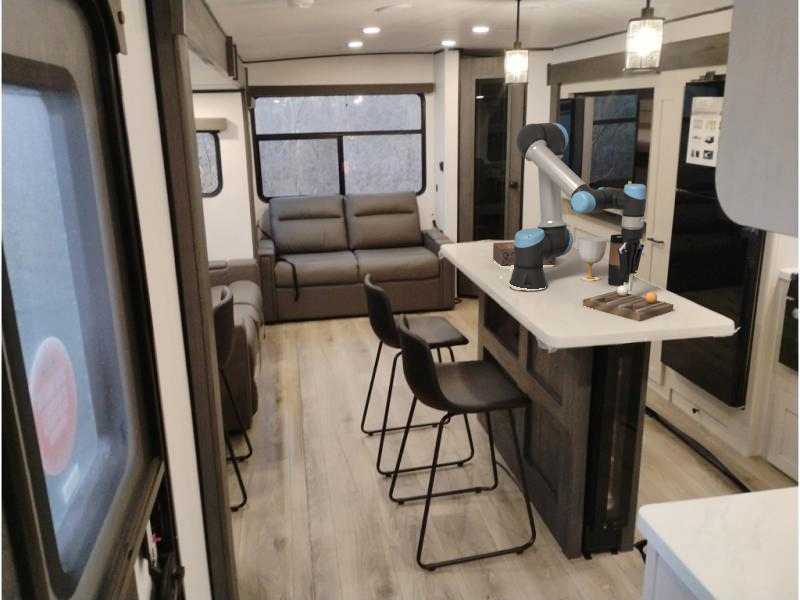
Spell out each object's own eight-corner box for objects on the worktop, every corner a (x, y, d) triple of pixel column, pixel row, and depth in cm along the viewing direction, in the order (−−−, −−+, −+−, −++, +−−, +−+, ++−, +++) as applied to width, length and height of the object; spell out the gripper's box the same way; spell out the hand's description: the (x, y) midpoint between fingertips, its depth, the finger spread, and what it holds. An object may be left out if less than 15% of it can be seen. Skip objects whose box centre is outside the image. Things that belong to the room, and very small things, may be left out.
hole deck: (582, 306, 238) (583, 298, 237) (615, 297, 248) (616, 289, 247) (639, 321, 219) (640, 312, 218) (672, 311, 229) (673, 302, 228)
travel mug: (628, 282, 268) (632, 235, 262) (624, 287, 261) (628, 238, 256) (609, 281, 271) (612, 233, 266) (605, 285, 265) (608, 236, 260)
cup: (574, 281, 273) (576, 241, 268) (576, 274, 283) (578, 236, 279) (603, 282, 269) (606, 242, 264) (604, 276, 280) (607, 237, 275)
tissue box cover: (500, 270, 296) (501, 248, 294) (493, 263, 310) (493, 242, 307) (555, 267, 299) (556, 246, 296) (545, 260, 313) (546, 240, 310)
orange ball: (642, 302, 231) (643, 291, 230) (649, 300, 233) (650, 290, 232) (652, 305, 228) (653, 294, 227) (659, 303, 230) (660, 292, 229)
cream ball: (614, 295, 240) (614, 285, 239) (621, 294, 243) (621, 283, 242) (623, 298, 237) (624, 287, 236) (630, 296, 240) (631, 285, 238)
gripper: (630, 230, 228) (625, 295, 235) (652, 226, 236) (647, 289, 242) (612, 228, 234) (608, 291, 241) (634, 224, 242) (629, 285, 248)
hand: (627, 290), depth 241 cm, fingers closed
